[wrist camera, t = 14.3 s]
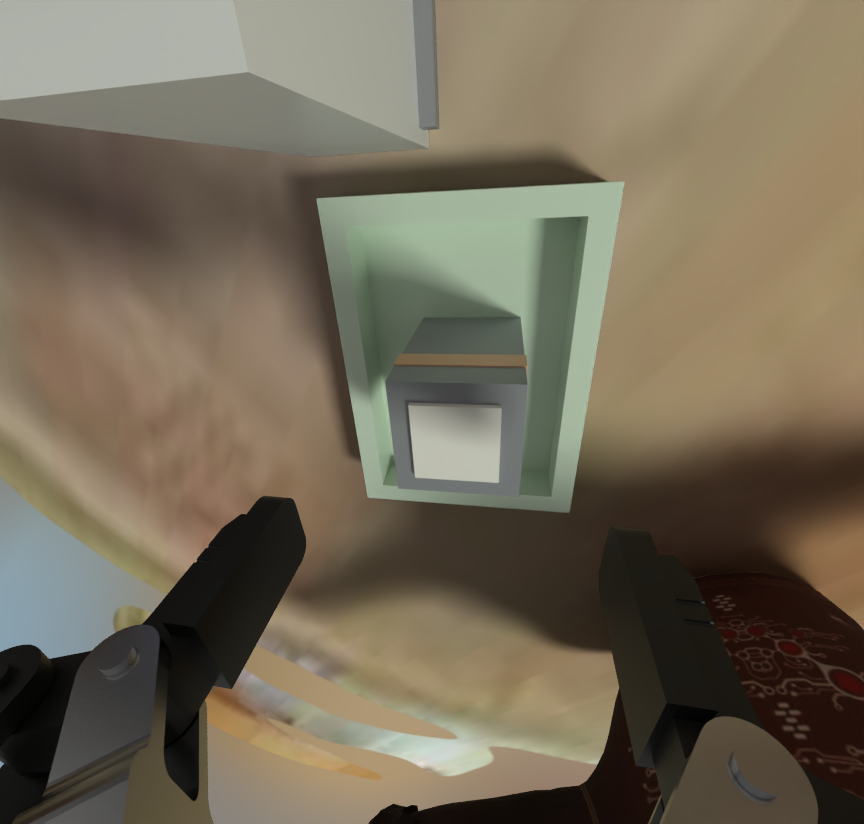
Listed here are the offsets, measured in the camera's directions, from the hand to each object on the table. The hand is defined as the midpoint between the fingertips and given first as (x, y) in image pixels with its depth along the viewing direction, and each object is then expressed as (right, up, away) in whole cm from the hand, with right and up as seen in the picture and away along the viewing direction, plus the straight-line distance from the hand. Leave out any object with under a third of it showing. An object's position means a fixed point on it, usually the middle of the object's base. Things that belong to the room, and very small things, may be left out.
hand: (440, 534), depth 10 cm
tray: (+2, +6, +10) cm, 12 cm away
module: (+2, +6, +9) cm, 11 cm away
